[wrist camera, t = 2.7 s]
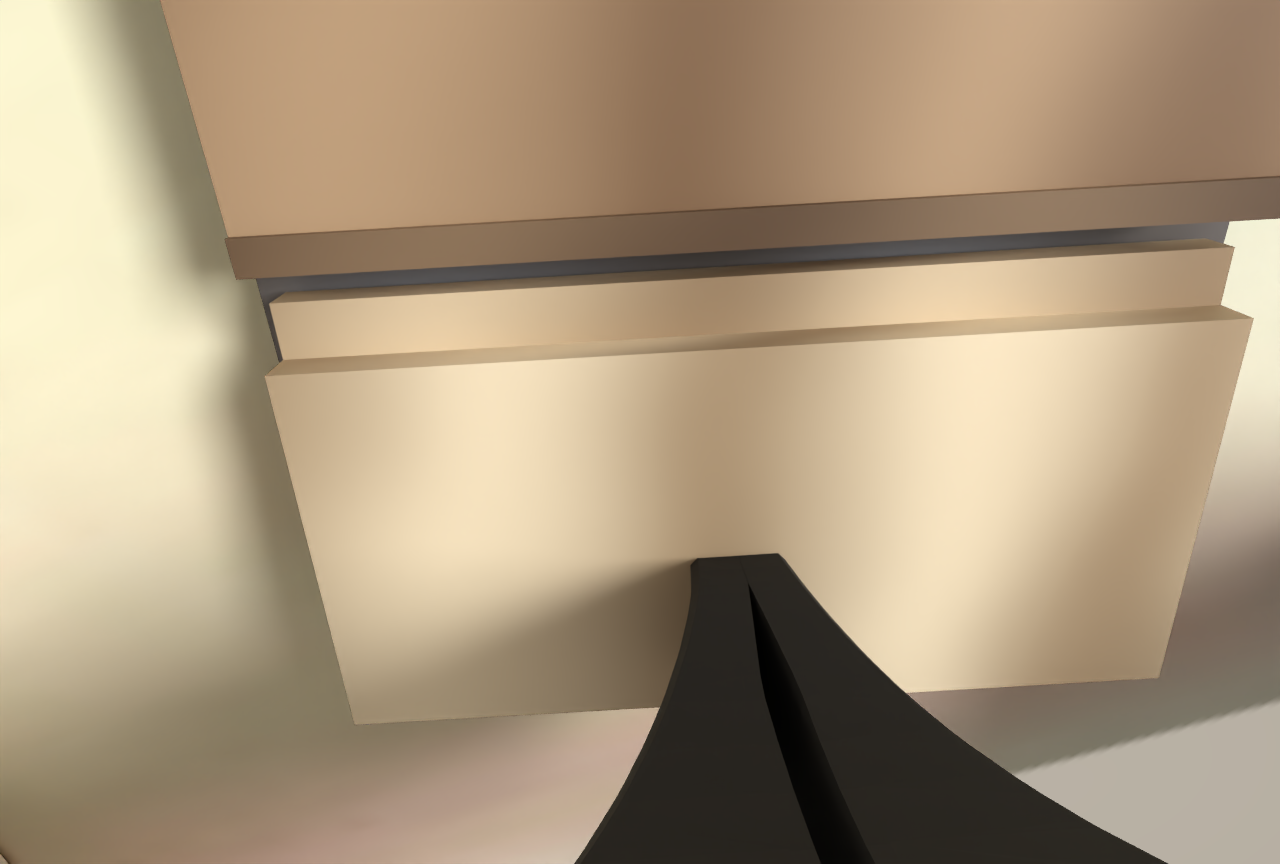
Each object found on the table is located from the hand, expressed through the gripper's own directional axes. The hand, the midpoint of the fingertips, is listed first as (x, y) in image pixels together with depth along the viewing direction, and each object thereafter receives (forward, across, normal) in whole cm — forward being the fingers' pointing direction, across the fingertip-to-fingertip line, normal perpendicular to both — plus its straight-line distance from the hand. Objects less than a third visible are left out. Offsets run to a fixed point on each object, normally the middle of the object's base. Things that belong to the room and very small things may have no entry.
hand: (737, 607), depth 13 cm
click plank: (+2, 0, -2) cm, 2 cm away
